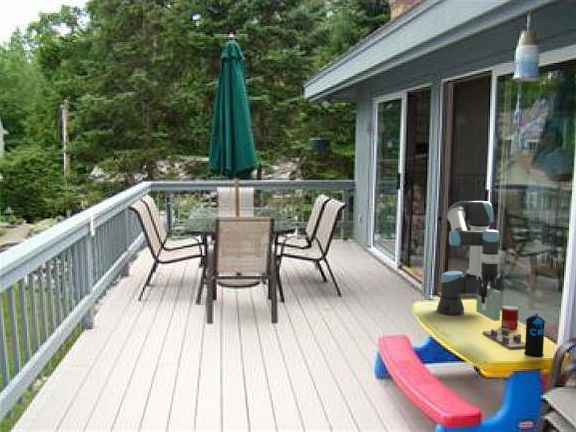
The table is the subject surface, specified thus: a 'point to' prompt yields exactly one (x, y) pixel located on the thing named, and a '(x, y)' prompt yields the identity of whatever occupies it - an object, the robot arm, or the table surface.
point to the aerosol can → (534, 336)
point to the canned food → (509, 317)
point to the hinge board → (505, 338)
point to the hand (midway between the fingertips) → (487, 309)
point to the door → (490, 304)
